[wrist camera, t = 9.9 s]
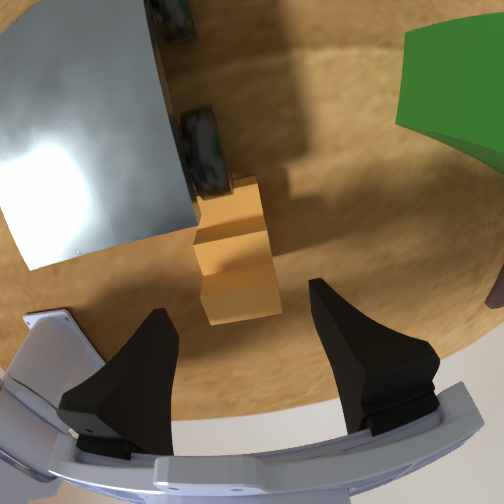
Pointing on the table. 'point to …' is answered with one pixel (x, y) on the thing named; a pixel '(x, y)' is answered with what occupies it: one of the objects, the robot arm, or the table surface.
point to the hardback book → (457, 85)
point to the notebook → (497, 292)
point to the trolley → (100, 129)
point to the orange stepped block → (236, 257)
